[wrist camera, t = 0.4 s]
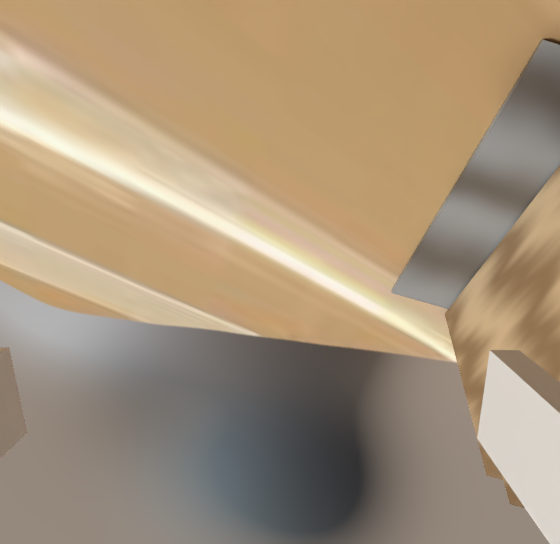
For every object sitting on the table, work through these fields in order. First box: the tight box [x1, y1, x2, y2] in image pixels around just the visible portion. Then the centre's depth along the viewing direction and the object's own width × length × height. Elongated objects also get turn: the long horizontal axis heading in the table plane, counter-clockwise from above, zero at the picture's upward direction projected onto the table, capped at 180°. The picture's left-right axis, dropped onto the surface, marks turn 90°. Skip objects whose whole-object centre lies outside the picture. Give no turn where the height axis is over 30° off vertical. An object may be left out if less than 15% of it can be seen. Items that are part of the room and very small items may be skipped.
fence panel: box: [445, 166, 560, 508], centre depth 23 cm, size 16×2×16 cm, turn 167°
